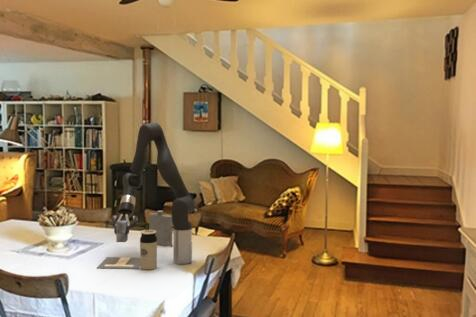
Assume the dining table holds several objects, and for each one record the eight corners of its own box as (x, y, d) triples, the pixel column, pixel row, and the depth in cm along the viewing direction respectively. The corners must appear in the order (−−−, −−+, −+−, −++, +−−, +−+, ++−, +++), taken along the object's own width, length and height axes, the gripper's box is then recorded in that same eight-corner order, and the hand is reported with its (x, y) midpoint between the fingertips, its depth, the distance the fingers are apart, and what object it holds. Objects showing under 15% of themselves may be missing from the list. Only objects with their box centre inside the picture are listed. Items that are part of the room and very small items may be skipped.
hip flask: (173, 245, 249) (173, 211, 247) (168, 247, 245) (169, 212, 244) (151, 241, 256) (151, 208, 255) (147, 243, 253) (147, 209, 251)
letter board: (145, 258, 224) (145, 257, 224) (137, 269, 207) (137, 268, 207) (107, 257, 224) (107, 256, 224) (96, 268, 207) (96, 267, 207)
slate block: (127, 239, 218) (127, 220, 218) (125, 242, 214) (125, 222, 213) (118, 239, 218) (118, 220, 218) (116, 242, 214) (116, 222, 213)
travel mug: (149, 263, 216) (149, 228, 214) (160, 267, 211) (160, 231, 209) (136, 267, 210) (136, 231, 208) (147, 271, 205) (147, 234, 203)
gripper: (112, 201, 222) (105, 229, 211) (139, 201, 222) (134, 230, 211) (115, 209, 228) (108, 237, 217) (142, 209, 228) (136, 238, 217)
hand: (121, 233), depth 214 cm, fingers closed on slate block, 4 cm apart
